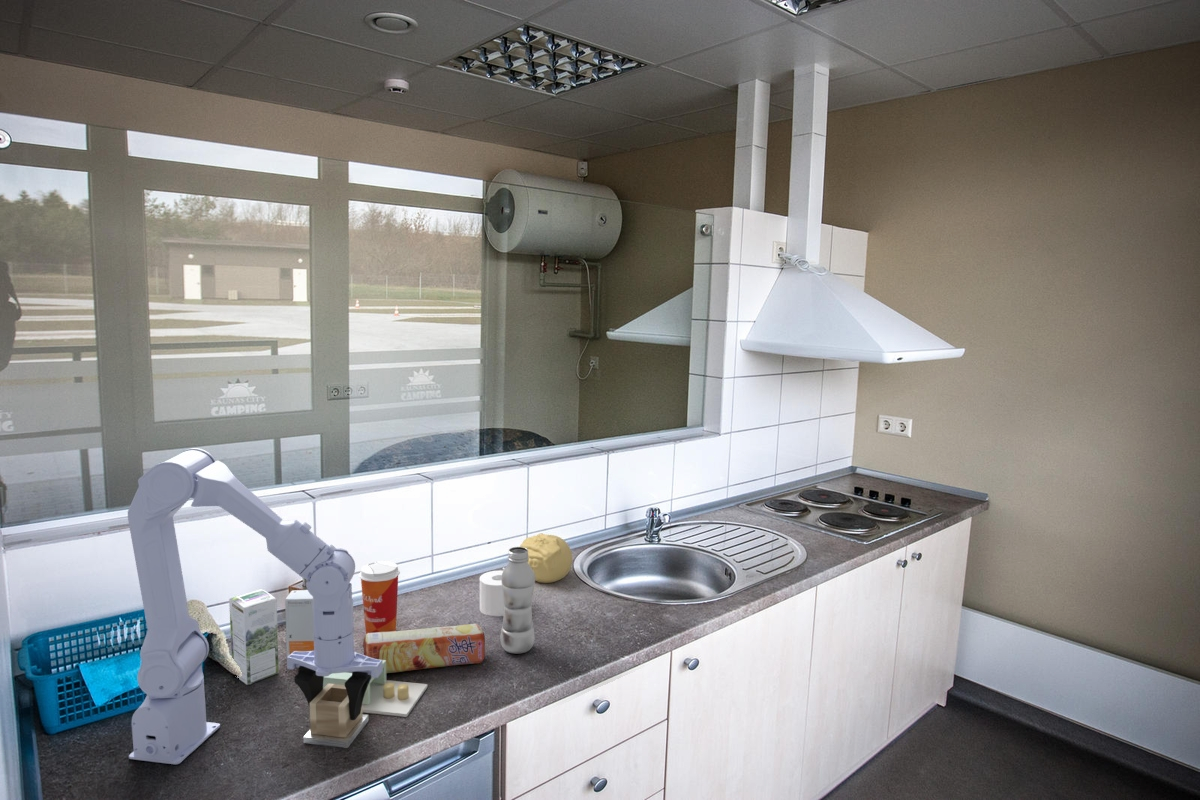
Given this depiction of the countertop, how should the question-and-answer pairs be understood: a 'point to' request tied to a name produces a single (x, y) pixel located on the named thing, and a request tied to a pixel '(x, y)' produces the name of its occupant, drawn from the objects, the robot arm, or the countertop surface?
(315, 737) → the pin plate
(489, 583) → the toilet paper
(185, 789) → the countertop surface
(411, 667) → the snack package
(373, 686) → the plate
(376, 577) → the paper cup
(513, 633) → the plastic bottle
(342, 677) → the cover
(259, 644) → the syrup box
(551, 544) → the sculpture
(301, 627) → the skincare box
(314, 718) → the hollow square wooden block
